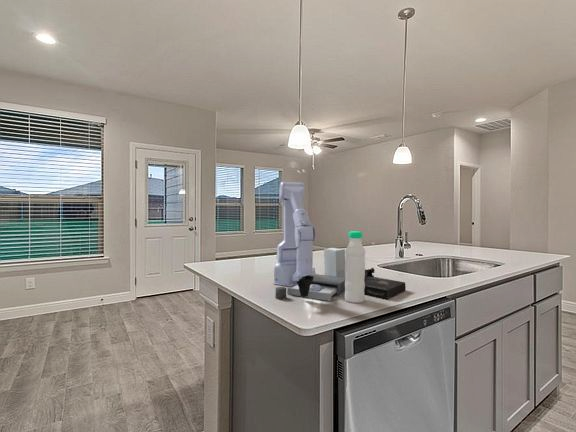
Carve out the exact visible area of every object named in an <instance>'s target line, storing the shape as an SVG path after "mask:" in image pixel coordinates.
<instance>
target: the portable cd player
mask: <svg viewBox="0 0 576 432" xmlns="http://www.w3.org/2000/svg"><path fill="white" fill-rule="evenodd" d="M364 283H365V288H364V294H365V297H366V296H367V297H372V298H376V299H381V300H384V299H385V301H388V300H390V299H393V298H394V297H396V296H398V295H400V294H402V293H404V292H406V282H405V281H399V280H394V279H388V278H384V277H383V278H382V277H377V276H374V277H372V276H366V277H365V278H364Z"/></svg>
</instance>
